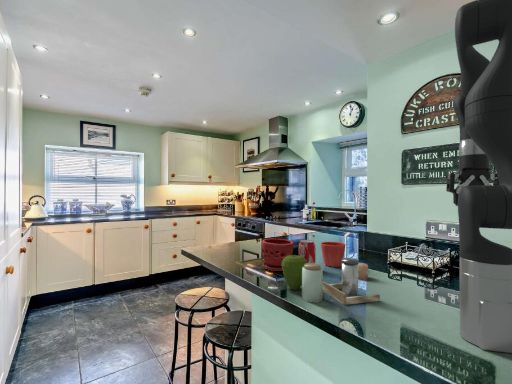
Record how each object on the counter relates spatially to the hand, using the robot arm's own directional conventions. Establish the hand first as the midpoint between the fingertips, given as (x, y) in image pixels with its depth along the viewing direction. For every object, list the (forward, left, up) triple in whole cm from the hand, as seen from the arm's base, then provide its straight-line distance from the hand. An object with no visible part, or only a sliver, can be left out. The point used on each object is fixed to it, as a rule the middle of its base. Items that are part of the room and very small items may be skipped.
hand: (473, 206), depth 85 cm
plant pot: (+15, +64, -28) cm, 72 cm away
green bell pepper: (-7, +55, -28) cm, 62 cm away
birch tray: (-9, +38, -28) cm, 48 cm away
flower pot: (+29, +41, -28) cm, 58 cm away
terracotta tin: (+12, +32, -28) cm, 44 cm away
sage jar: (-15, +49, -28) cm, 58 cm away
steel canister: (-9, +38, -28) cm, 48 cm away
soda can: (+18, +52, -28) cm, 62 cm away
